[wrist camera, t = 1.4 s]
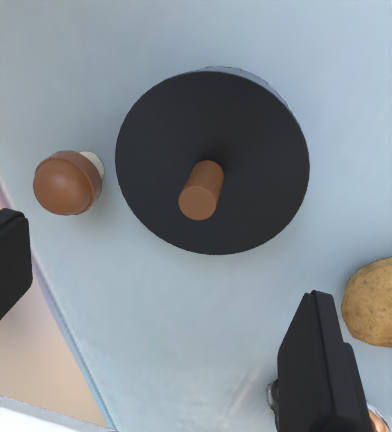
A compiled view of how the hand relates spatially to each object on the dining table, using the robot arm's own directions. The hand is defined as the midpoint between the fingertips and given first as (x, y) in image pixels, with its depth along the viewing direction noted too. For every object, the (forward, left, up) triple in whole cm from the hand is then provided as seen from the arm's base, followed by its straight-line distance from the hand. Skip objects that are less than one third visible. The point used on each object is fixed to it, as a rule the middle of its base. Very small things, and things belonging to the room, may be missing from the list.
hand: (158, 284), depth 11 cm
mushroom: (-13, -9, -24) cm, 29 cm away
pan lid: (0, -3, -18) cm, 18 cm away
